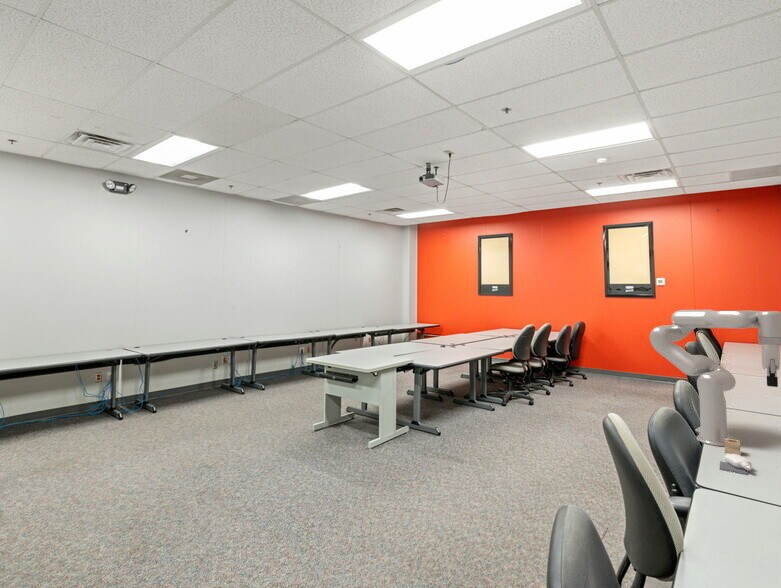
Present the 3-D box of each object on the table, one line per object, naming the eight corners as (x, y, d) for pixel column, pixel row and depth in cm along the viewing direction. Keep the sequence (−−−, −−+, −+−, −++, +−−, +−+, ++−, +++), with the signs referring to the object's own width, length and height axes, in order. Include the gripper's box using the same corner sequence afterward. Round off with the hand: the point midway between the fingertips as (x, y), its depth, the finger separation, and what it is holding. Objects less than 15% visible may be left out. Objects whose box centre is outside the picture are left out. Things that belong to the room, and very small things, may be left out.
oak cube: (725, 449, 176) (724, 438, 176) (740, 452, 172) (740, 440, 173) (724, 453, 172) (724, 441, 172) (740, 456, 169) (740, 443, 169)
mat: (720, 462, 162) (720, 461, 162) (746, 467, 157) (746, 466, 157) (719, 469, 156) (719, 468, 156) (747, 475, 150) (747, 473, 150)
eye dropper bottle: (737, 466, 161) (756, 477, 150) (722, 459, 163) (739, 470, 151) (742, 456, 161) (761, 467, 150) (726, 449, 163) (744, 459, 151)
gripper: (757, 339, 175) (759, 382, 175) (759, 342, 164) (760, 388, 163) (781, 340, 170) (783, 384, 170) (785, 343, 159) (786, 390, 158)
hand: (772, 386), depth 166 cm, fingers closed
